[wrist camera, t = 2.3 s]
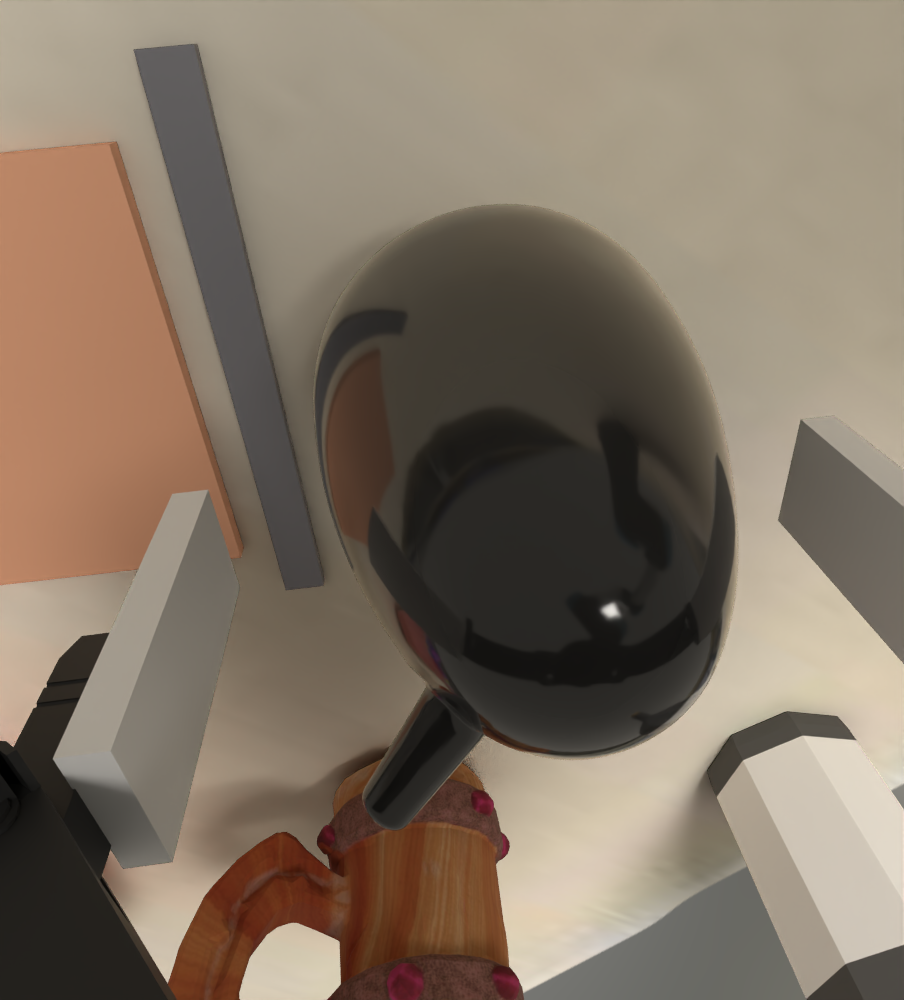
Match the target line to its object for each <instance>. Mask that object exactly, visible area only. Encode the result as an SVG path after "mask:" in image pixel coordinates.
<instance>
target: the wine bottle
mask: <svg viewBox="0 0 904 1000" xmlns="http://www.w3.org/2000/svg"><path fill="white" fill-rule="evenodd" d="M707 772H708V775H709V779H710V782H711V785H712V787H713V790H714V792H715V794H716V797H717V799H718V801H719V804H720V806H721V808H722V810H723V813H724V815H725V817H726V819H727V822H728V824H729V826H730V828H731V831H732V833H733V835H734V837H735V840H736V842H737V844H738V846H739V849H740V851H741V853H742V855H743V858H744V860H745V862H746V864H747V867H748V869H749V871H750V873H751V876H752V878H753V880H754V882H755V885H756V887H757V889H758V891H759V894H760V896H761V898H762V900H763V903H764V905H765V907H766V909H767V912H768V913H769V916H770V918H771V921H772V923H773V925H774V927H775V930H776V932H777V934H778V936H779V939H780V941H781V943H782V945H783V948H784V950H785V952H786V954H787V956H788V959H789V961H790V963H791V966H792V968H793V970H794V972H795V975H796V977H797V979H798V981H799V984H800V986H801V988H802V990H803V993H804V995H805V997H806V999H807V1000H904V809H903V808H902V807H901V805H900V803H899V802H898V800H897V799H896V798H895V796H894V795H893V793H892V792H891V790H890V789H889V787H888V786H887V784H886V783H885V781H884V780H883V778H882V777H881V776H880V774H879V773H878V771H877V770H876V768H875V767H874V765H873V764H872V762H871V761H870V759H869V758H868V756H867V755H866V754H865V752H864V751H863V749H862V748H861V746H860V745H859V743H858V742H857V740H856V739H855V737H854V736H853V735H852V733H851V732H850V730H849V729H848V728H847V727H846V725H845V724H844V723H843V722H842V721H841V720H840V719H839V718H838V716H827V715H817V714H806V713H795V712H785V713H783V714H780V715H778V716H776V717H773V718H771V719H768V720H766V721H764V722H761V723H759V724H757V725H754V726H752V727H750V728H747V729H745V730H743V731H740V732H738V733H736V734H733V735H731V737H730V738H729V740H728V741H727V743H726V744H725V745H724V747H723V748H722V750H721V751H720V753H719V754H718V756H717V757H716V759H715V760H714V762H713V763H712V764H711V766H710V767H709V769H708V770H707Z"/></svg>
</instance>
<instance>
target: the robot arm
mask: <svg viewBox="0 0 904 1000" xmlns="http://www.w3.org/2000/svg"><path fill="white" fill-rule="evenodd" d="M778 521H779V522H780V523H781V524H782V525H783V526H784V528H785V529H786V530H787V531H788V532H789V533H790V534H791V536H792V537H793V538H794V539H795V540H796V541H797V542H798V544H799V545H800V546H801V547H802V548H803V549H804V550H805V552H806V553H807V554H808V555H809V556H810V557H811V558H812V560H813V561H814V562H815V563H816V564H817V565H818V566H819V568H820V569H821V570H822V571H823V572H824V573H825V574H826V576H827V577H828V578H829V579H830V580H831V581H832V582H833V584H834V585H835V586H836V587H837V588H838V589H839V590H840V592H841V593H842V594H843V595H844V596H845V597H846V598H847V600H848V601H849V602H850V603H851V604H852V605H853V606H854V608H855V609H856V610H857V611H858V612H859V613H860V614H861V616H862V617H863V618H864V619H865V620H866V621H867V622H868V624H869V625H870V626H871V627H872V628H873V629H874V630H875V632H876V633H877V634H878V635H879V636H880V637H881V638H882V640H883V641H884V642H885V643H886V644H887V645H888V646H889V648H890V649H891V650H892V651H893V652H894V653H895V654H896V656H897V657H898V658H899V659H900V660H901V661H902V662H903V664H904V469H902V468H901V467H900V466H898V465H897V464H896V463H895V462H893V461H892V460H891V459H889V458H888V457H887V456H886V455H884V454H883V453H882V452H880V451H879V450H878V449H877V448H875V447H874V446H873V445H871V444H870V443H869V442H868V441H866V440H865V439H864V438H862V437H861V436H860V435H859V434H857V433H856V432H855V431H853V430H852V429H851V428H850V427H848V426H847V425H846V424H844V423H843V422H842V421H841V420H839V419H838V418H837V417H835V416H826V417H817V418H809V419H801V421H800V425H799V430H798V434H797V439H796V443H795V448H794V452H793V457H792V461H791V465H790V470H789V474H788V479H787V483H786V488H785V492H784V497H783V501H782V505H781V510H780V514H779V519H778ZM239 589H240V586H239V583H238V580H237V576H236V573H235V570H234V567H233V564H232V561H231V558H230V555H229V552H228V549H227V546H226V543H225V540H224V537H223V534H222V530H221V527H220V524H219V521H218V518H217V515H216V512H215V509H214V506H213V503H212V500H211V497H210V494H209V491H208V490H200V491H192V492H183V493H175V494H172V496H171V498H170V500H169V502H168V504H167V507H166V509H165V511H164V513H163V516H162V518H161V520H160V522H159V524H158V527H157V529H156V531H155V533H154V535H153V538H152V540H151V542H150V544H149V547H148V549H147V551H146V553H145V555H144V558H143V560H142V562H141V564H140V566H139V569H138V571H137V573H136V575H135V578H134V580H133V582H132V584H131V586H130V589H129V591H128V593H127V595H126V597H125V600H124V602H123V604H122V606H121V609H120V611H119V613H118V615H117V617H116V620H115V622H114V624H113V626H112V628H111V631H110V633H103V634H95V635H87V636H81V637H80V638H79V639H78V640H77V641H76V642H75V643H74V644H73V645H72V646H71V647H70V648H69V649H68V650H67V651H66V652H65V653H64V654H63V655H62V657H61V658H60V659H59V660H58V662H57V664H56V666H55V668H54V670H53V672H52V674H51V676H50V678H49V680H48V681H47V688H44V689H43V691H42V693H41V695H40V697H39V699H38V701H37V707H36V708H34V709H33V711H32V713H31V714H30V716H29V718H28V720H27V722H26V724H25V726H24V728H23V730H22V732H21V734H20V736H19V738H18V740H17V742H16V744H15V746H14V747H12V746H11V745H10V744H9V743H7V742H6V741H0V1000H177V999H176V997H175V995H174V994H173V992H172V990H171V989H170V987H169V985H168V984H167V982H166V980H165V979H164V977H163V975H162V974H161V972H160V971H159V969H158V967H157V966H156V964H155V962H154V961H153V959H152V957H151V956H150V954H149V952H148V951H147V949H146V947H145V946H144V944H143V942H142V941H141V939H140V937H139V936H138V934H137V932H136V931H135V929H134V927H133V926H132V924H131V922H130V921H129V919H128V917H127V916H126V914H125V913H124V911H123V909H122V908H121V906H120V904H119V903H118V901H117V899H116V898H115V896H114V894H113V893H112V891H111V889H110V888H109V886H108V884H107V883H106V881H105V880H104V878H103V877H102V873H103V870H104V867H105V864H106V861H107V858H108V855H109V852H110V849H111V851H112V852H113V854H114V855H115V857H116V859H117V860H118V862H119V863H120V865H121V866H122V868H123V869H126V868H133V867H140V866H148V865H155V864H162V863H169V862H173V858H174V854H175V850H176V846H177V842H178V838H179V834H180V830H181V826H182V821H183V817H184V813H185V809H186V805H187V801H188V797H189V793H190V789H191V785H192V781H193V777H194V773H195V768H196V764H197V760H198V756H199V752H200V748H201V744H202V740H203V736H204V732H205V728H206V724H207V720H208V715H209V711H210V707H211V703H212V699H213V695H214V691H215V687H216V683H217V679H218V675H219V671H220V667H221V663H222V658H223V654H224V650H225V646H226V642H227V638H228V634H229V630H230V626H231V622H232V618H233V614H234V610H235V605H236V601H237V597H238V593H239Z"/></svg>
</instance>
